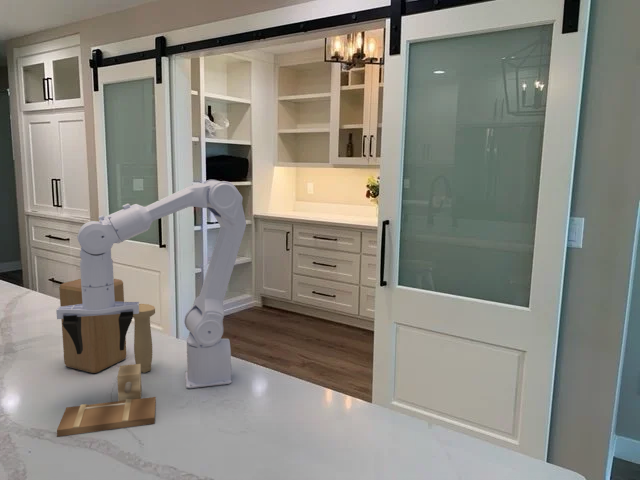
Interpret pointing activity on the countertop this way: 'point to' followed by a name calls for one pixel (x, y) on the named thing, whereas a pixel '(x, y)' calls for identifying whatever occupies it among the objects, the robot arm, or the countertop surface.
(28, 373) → the countertop surface
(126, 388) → the pale wood holed block
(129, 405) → the walnut board
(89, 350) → the wooden block
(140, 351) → the handle
